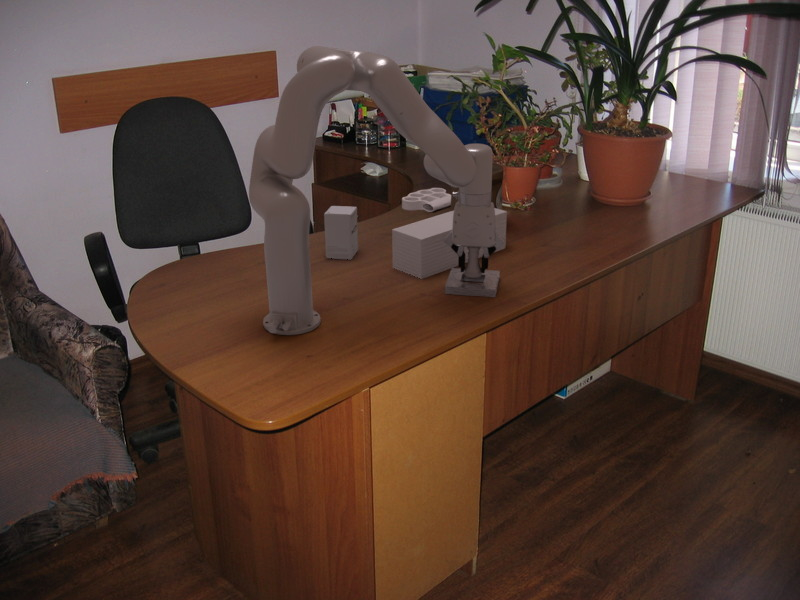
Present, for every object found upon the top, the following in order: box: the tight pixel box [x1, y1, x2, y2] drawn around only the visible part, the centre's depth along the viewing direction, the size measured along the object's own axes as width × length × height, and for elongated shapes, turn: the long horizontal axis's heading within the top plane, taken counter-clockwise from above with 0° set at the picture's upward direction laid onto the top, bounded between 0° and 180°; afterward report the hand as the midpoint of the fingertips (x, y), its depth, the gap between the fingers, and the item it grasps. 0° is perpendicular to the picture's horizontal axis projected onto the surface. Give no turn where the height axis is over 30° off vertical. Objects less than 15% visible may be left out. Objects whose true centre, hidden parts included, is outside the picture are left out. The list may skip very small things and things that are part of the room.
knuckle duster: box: [401, 187, 451, 213], centre depth 262 cm, size 3×18×15 cm
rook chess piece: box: [464, 247, 482, 278], centre depth 198 cm, size 4×4×8 cm
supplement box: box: [323, 205, 359, 261], centre depth 219 cm, size 7×7×13 cm
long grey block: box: [391, 208, 508, 280], centre depth 216 cm, size 32×11×11 cm, turn 133°
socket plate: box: [444, 267, 501, 298], centre depth 200 cm, size 12×12×2 cm
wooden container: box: [450, 162, 504, 211], centre depth 236 cm, size 15×15×22 cm
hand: (473, 270), depth 199 cm, fingers closed on rook chess piece, 4 cm apart
